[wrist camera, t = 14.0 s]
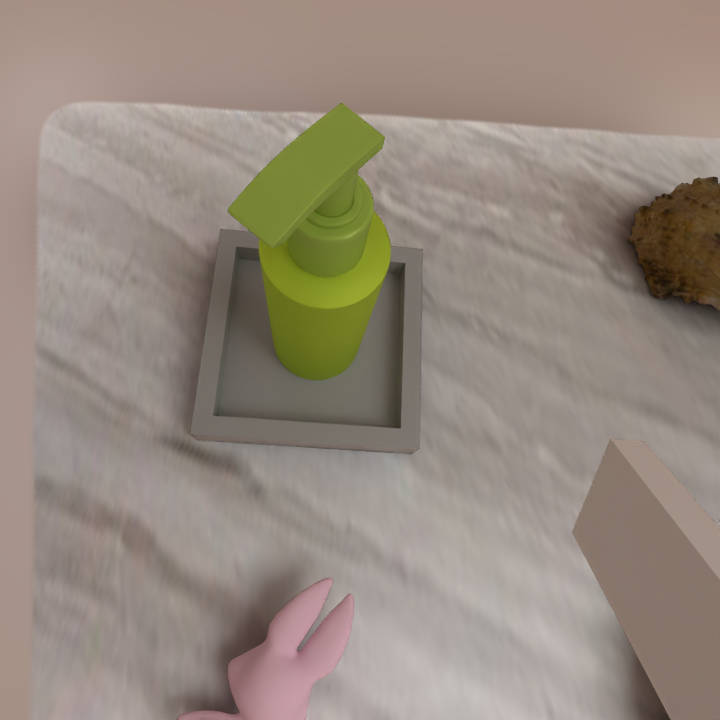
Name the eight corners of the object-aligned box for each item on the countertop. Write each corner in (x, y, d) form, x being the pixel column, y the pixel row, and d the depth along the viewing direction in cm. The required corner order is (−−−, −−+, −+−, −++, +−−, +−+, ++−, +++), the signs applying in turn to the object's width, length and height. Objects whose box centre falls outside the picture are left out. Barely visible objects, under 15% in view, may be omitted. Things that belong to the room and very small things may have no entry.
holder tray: (415, 266, 39) (422, 249, 36) (411, 454, 35) (419, 448, 32) (225, 248, 38) (220, 229, 35) (198, 440, 33) (189, 434, 31)
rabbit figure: (224, 843, 29) (384, 612, 31) (190, 946, 23) (391, 651, 25) (138, 768, 29) (301, 546, 31) (83, 849, 23) (288, 569, 25)
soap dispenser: (244, 352, 35) (174, 160, 15) (313, 283, 36) (327, 35, 17) (309, 409, 34) (322, 283, 15) (376, 336, 36) (463, 141, 17)
